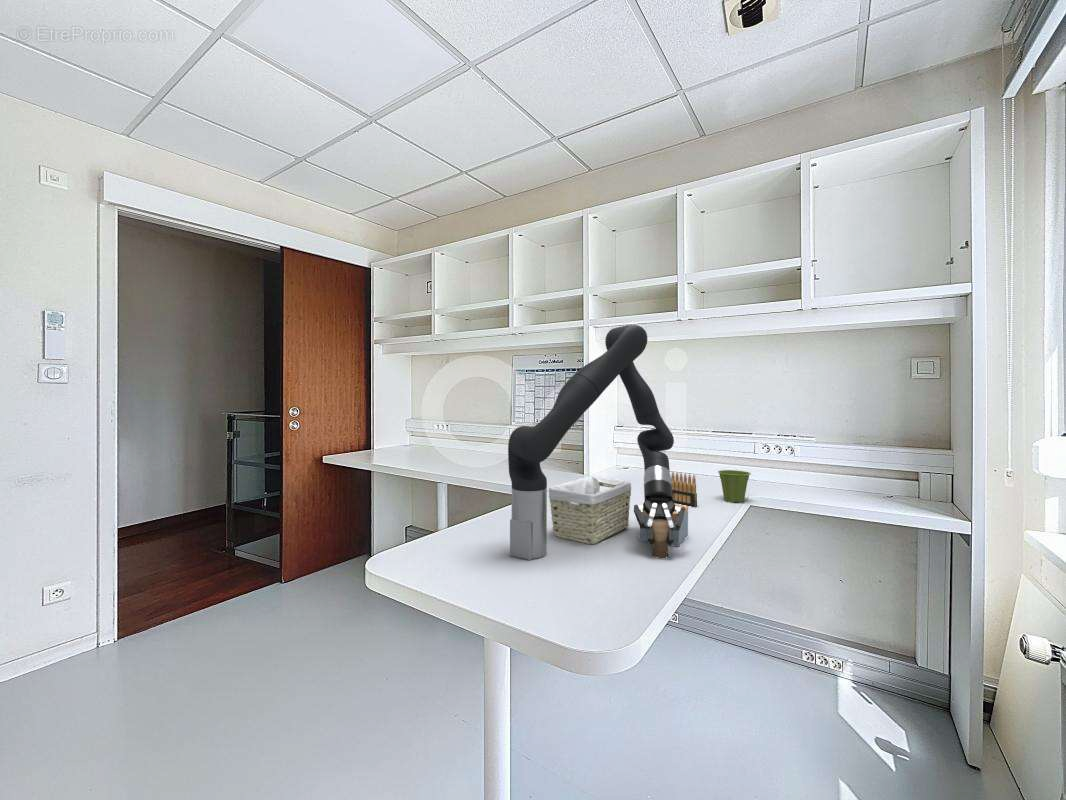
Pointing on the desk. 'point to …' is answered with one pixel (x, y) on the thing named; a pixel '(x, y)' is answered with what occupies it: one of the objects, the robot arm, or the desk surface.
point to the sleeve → (678, 535)
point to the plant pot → (734, 484)
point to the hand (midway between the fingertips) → (661, 542)
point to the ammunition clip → (684, 490)
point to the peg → (660, 538)
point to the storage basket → (590, 508)
